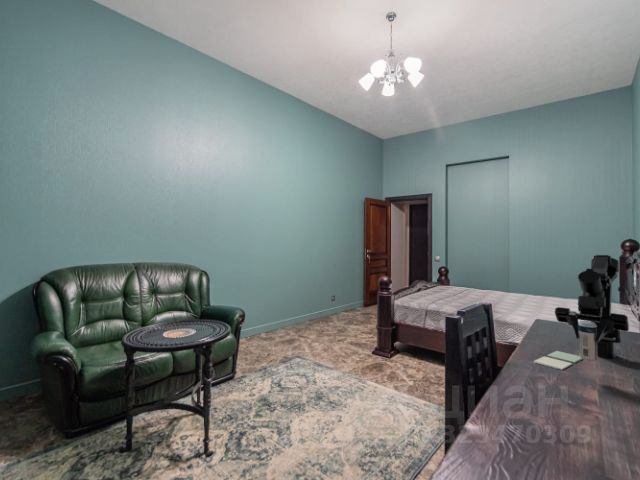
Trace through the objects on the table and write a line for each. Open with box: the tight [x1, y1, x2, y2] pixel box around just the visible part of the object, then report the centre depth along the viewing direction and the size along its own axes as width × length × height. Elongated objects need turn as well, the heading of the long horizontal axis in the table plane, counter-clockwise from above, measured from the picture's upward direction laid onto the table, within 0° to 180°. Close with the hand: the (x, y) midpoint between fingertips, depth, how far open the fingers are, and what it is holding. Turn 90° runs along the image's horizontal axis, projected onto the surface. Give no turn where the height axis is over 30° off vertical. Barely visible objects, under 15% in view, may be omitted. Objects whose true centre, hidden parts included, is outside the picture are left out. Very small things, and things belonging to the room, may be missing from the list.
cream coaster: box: [533, 356, 573, 371], centre depth 118 cm, size 9×9×1 cm
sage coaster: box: [546, 350, 583, 364], centre depth 125 cm, size 9×9×1 cm
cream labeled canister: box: [578, 320, 599, 362], centre depth 105 cm, size 5×5×12 cm
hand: (587, 339), depth 104 cm, fingers closed on cream labeled canister, 5 cm apart
